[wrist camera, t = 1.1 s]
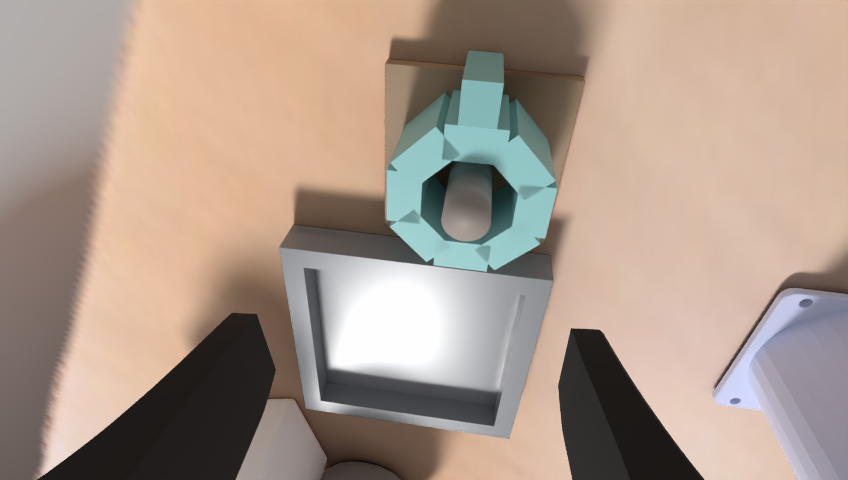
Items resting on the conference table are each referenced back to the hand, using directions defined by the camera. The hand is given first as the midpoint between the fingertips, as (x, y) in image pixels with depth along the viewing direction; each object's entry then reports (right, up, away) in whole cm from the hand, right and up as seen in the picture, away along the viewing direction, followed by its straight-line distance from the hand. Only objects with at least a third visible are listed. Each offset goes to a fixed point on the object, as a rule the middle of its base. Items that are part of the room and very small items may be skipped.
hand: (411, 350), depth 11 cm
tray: (0, -2, +14) cm, 15 cm away
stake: (+2, +6, +8) cm, 10 cm away
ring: (+2, +6, +8) cm, 10 cm away
